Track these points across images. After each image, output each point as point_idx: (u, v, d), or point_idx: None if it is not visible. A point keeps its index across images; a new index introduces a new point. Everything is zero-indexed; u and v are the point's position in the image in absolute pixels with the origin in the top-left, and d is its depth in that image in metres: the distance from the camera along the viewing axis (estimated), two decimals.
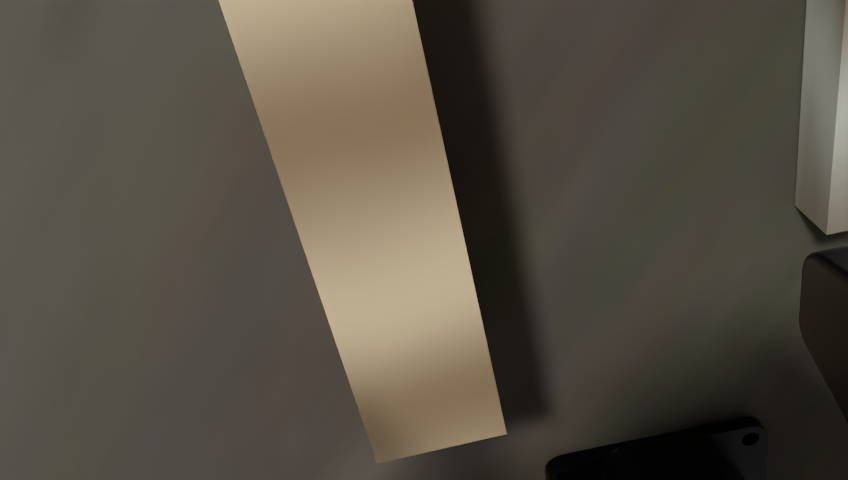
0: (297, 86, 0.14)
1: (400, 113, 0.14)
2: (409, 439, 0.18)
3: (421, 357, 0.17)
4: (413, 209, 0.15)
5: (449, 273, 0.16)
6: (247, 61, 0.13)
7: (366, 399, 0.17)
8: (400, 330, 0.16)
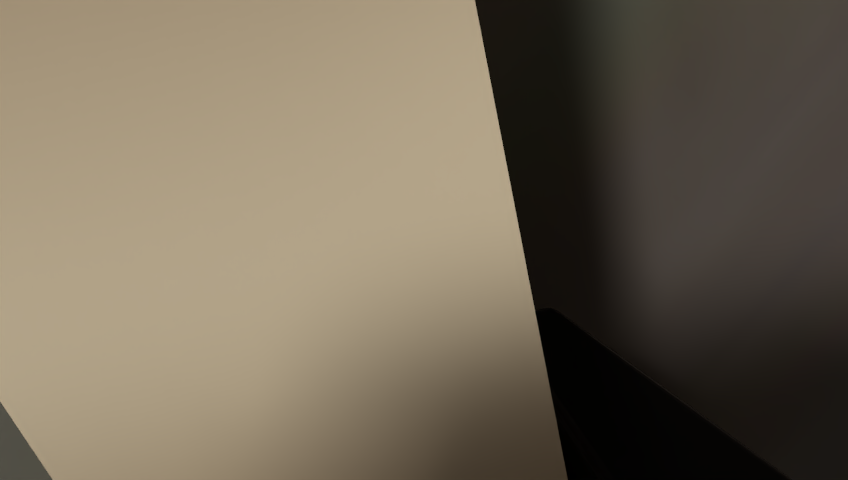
0: None
1: None
2: None
3: None
4: None
5: None
6: None
7: None
8: None
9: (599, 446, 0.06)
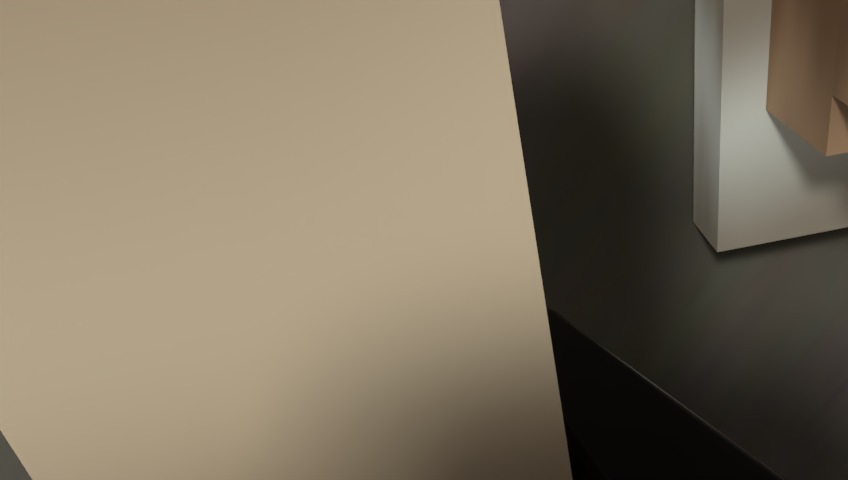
0: None
1: None
2: None
3: None
4: None
5: None
6: None
7: None
8: None
9: (595, 447, 0.06)
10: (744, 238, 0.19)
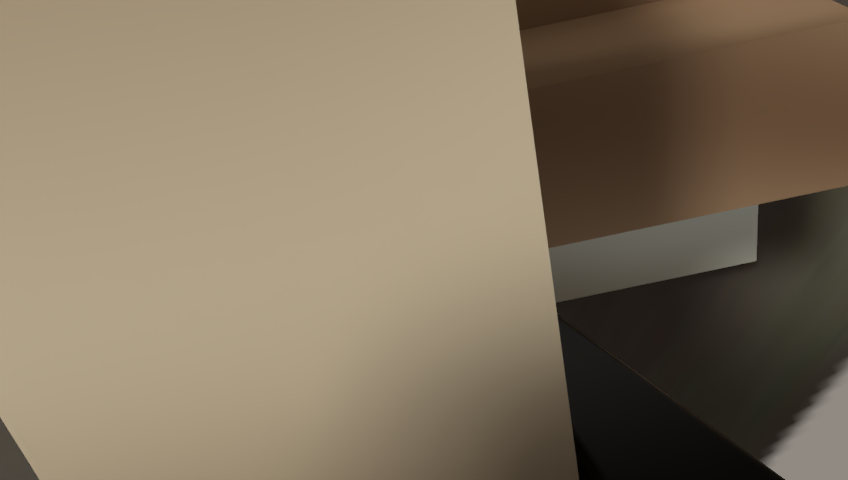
0: None
1: None
2: None
3: None
4: None
5: None
6: None
7: None
8: None
9: (594, 447, 0.06)
10: None
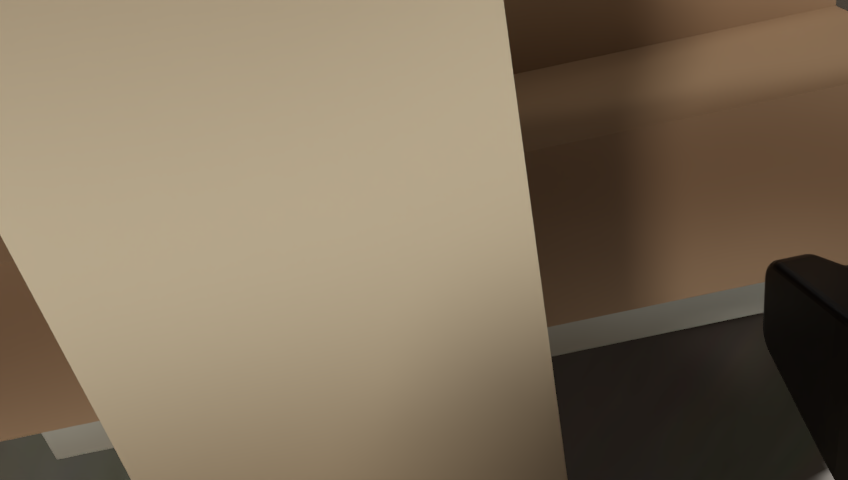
0: None
1: None
2: None
3: None
4: None
5: None
6: (137, 455, 0.05)
7: None
8: None
9: None
10: (81, 445, 0.17)
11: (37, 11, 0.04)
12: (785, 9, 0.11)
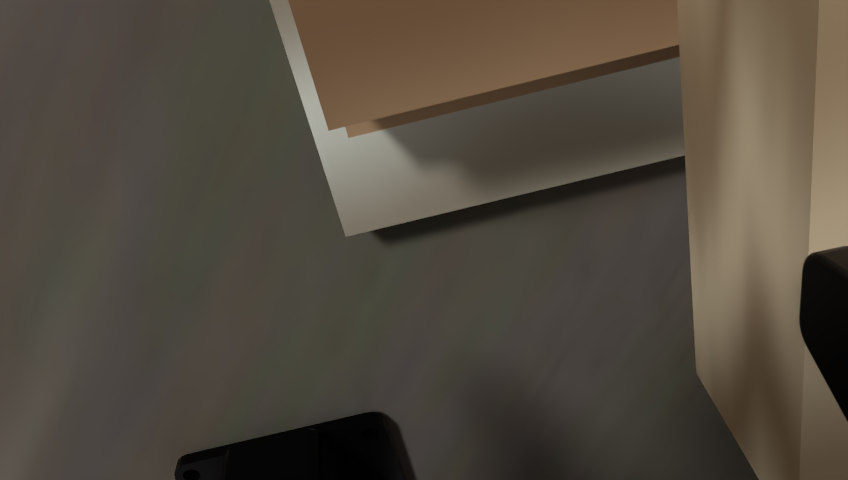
0: None
1: None
2: None
3: None
4: None
5: None
6: None
7: (815, 454, 0.11)
8: None
9: None
10: (369, 221, 0.19)
11: None
12: None
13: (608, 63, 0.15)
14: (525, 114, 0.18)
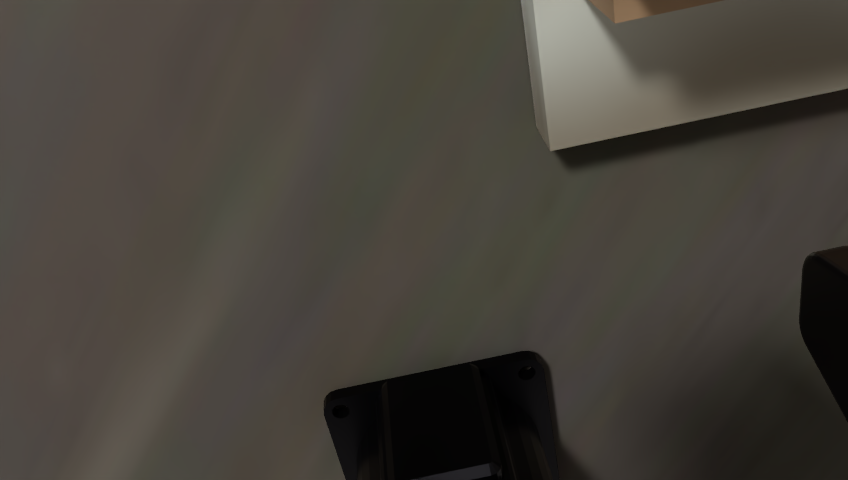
0: None
1: None
2: None
3: None
4: None
5: None
6: None
7: None
8: None
9: None
10: (576, 135, 0.18)
11: None
12: None
13: None
14: (750, 25, 0.18)
